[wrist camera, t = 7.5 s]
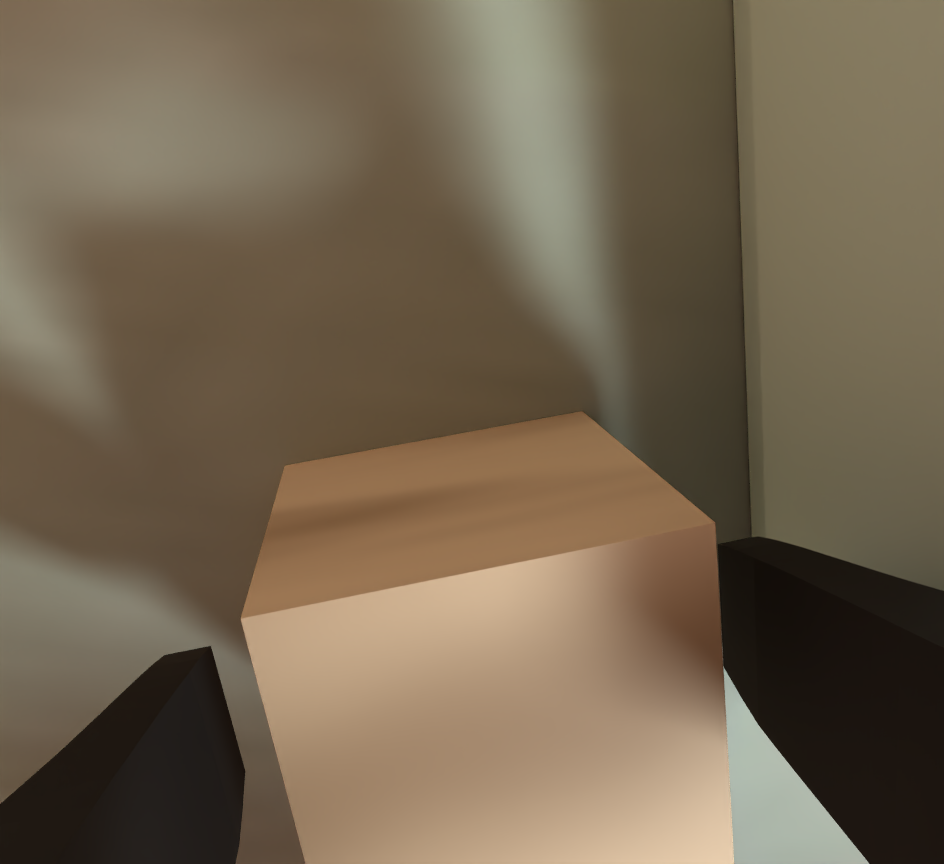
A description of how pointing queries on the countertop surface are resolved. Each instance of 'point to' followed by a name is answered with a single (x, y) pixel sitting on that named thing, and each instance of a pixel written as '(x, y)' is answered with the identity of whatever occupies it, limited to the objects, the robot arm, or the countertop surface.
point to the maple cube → (494, 654)
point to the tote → (844, 276)
